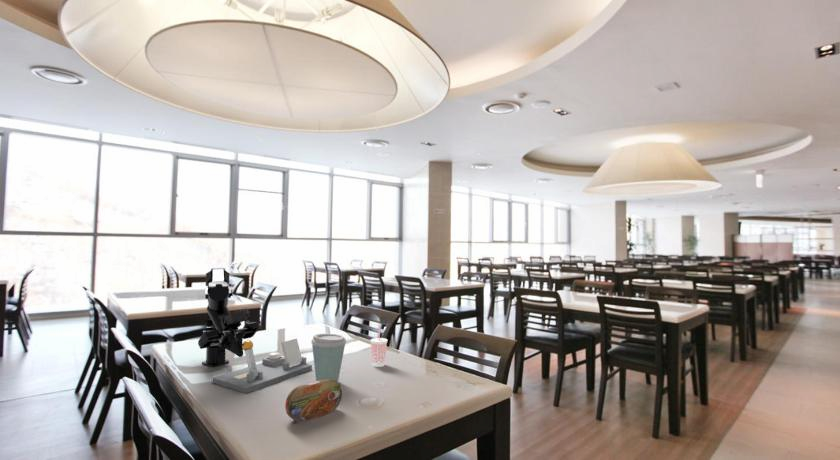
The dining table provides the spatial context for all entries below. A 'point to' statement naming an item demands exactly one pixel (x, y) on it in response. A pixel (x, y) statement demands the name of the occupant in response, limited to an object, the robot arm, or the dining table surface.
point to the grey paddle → (291, 351)
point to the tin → (313, 400)
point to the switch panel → (261, 374)
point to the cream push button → (274, 356)
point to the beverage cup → (378, 351)
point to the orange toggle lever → (250, 357)
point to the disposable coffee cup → (328, 355)
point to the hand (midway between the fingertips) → (241, 356)
